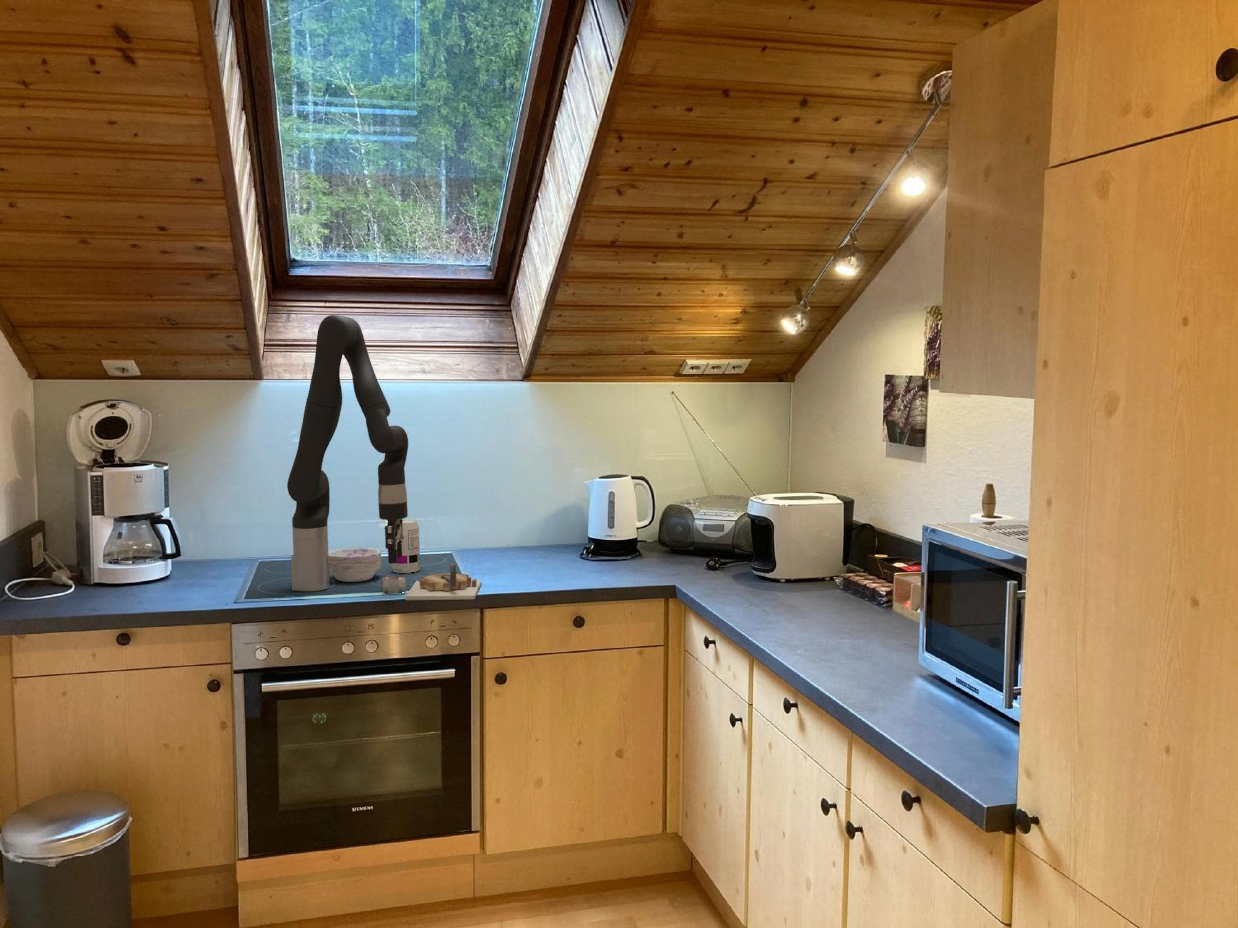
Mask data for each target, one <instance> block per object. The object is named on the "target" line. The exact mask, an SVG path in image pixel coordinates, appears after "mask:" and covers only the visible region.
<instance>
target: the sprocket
mask: <svg viewBox="0 0 1238 928" xmlns="http://www.w3.org/2000/svg"><path fill="white" fill-rule="evenodd" d="M471 580H472V577H471V576H469V574H465V573H463V574H461V573H457V564H450V565H449V573H432V574H430V575H427V576H426V575H423V576H421V577H420V579H419V580H418V581H420V588H426V589H427V590H431V591H433V590H444V591H450V590H453V589H464V588H466V586H471Z"/></svg>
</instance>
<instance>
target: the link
mask: <svg viewBox="0 0 1238 928" xmlns="http://www.w3.org/2000/svg"><path fill="white" fill-rule="evenodd" d="M406 589H407V588H406V577H405V576H397V575H395V576H394V575H393V576H384V577H382V593H383V594H384V593H385V595H388V594H389V595H391V594H392V593H393V594H394V593H401V594H403V593H402V592H405V593H406V591H407V590H406ZM390 593H391V594H390ZM393 594H392V595H393ZM394 595H395V594H394Z"/></svg>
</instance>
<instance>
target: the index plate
mask: <svg viewBox="0 0 1238 928" xmlns="http://www.w3.org/2000/svg"><path fill="white" fill-rule="evenodd" d="M481 586H482V580H481V579H477V578H475V579H474V578H473V579H471V586H466V588H464V589H453V590H450V591H444V590H433V591H431V590H427V589H426V588H420V581H419V580H415V583H413V585H412V587H411V588H410V589H409V591H408V592H407V594H405V597H404V598H405V599H404V600H405V601H431V600H432V601H435V600H436V601H437V600H438V601H439V600H444V601H445V600H446V601H447V600H453V601H454V600H475V599H476V597H477V594H478V593H479V590H480V588H481Z"/></svg>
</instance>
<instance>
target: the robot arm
mask: <svg viewBox="0 0 1238 928" xmlns="http://www.w3.org/2000/svg"><path fill="white" fill-rule="evenodd" d="M361 328H362V327H361V326H360V324H359V322H358V321H356V319H354V318H352V317H350V316H344V315H339V314H330V315H327V316H326V317H324V318H323V319H322V320H321V322H320V324H319V326H318V328H317V334H316V335H317V336H316V341H315V342H316V345H315V356H314V363H313V369H312V373H311V378H310V383H309V388H308V393H307V394H308V395H307V397H306V401H305V406H304V412H303V417H302V422H301V429H300V432H299V433H300V434H299V438H298V445H297V450H296V454H295V457H294V461H293V463H292V467H291V470H290V472H289V476H288V479H287V486H286V488H287V492H288V495H289V497H290V498H291V499H292V500H293V501H294V502H295V503H296V504H295V505H296V507H295V512H294V514H293V516H292V518H291V522H292V523H291V524H292V525H291V527H292V548H293V549H292V553H293V554H292V555H291V556H290V557H291V559H290V561H291V563H290V564H291V567H290V568H291V587H292V588H291V589H292V591H298V592H318V591H323V590H327V589H329V588H330V571H329V556H328V552H329V533H328V532H329V531H328V530H329V529H328V527H329V526H328V519H329V515H330V508H331V507H330V506H331V505H330V504H331V503H330V502H331V501H330V499H331V496H330V489H331V488H330V481H329V477H328V476H327V474H326V473H325V471H324V470H322V467H323V463H324V457H325V454H326V452H327V449H328V447H329V445H330V443H331V441H332V439H333V437H334V435H335V432H336V430H337V427H338V425H339V421H340V416H341V411H342V408H343V407H342V406H343V390H342V384H341V377H340V370H341V364H342V359H343V357H344V358H345V360H346V362H347V364H348V366H349V368H350V369H349V370H350V373H351V379H352V385H353V386H352V387H353V392H354V395H355V398H356V401H357V403H358V406H359V407H360V410H361V412H362V414H363V416H364V418H365V423H366V425H365V426H366V428H367V429H366V430H367V433H368V434H367V435H368V438H369V442H370V444H371V446H372V447H373V448H374V450H376V451H377V452H378V453H380V454H384V457H383V458H384V460H382V462H381V463H379V464H378V467H377V482H378V483H377V484H378V489H377V497H378V498H377V499H378V502H377V503H378V504H377V505H378V518H379V519H381V520H382V521H383V520H385V521H386V520H387V524H386V525H384V539H385V540H384V541H385V543H384V544H385V545H384V546H385V549H386V550H387V557H388V559H387V560H388V564H389V565H390V564H391V565H392V564H393V563H397V558H400V557H402V544H401V543H402V542H403V538H404V537H403V520H405V519H406V518H408V512H409V511H408V510H409V509H408V495H407V493H408V492H407V486H406V472H405V468H406V467H405V466H406V462H407V456H408V451H409V450H408V449H409V438H408V434H407V432H406V430H405V428H403V427H401V426H400V425H390V424H389V421H388V417H389V416H390V414H391V407H390V405H389V403H388V400H387V399H386V395H385V394H384V392H383V389H382V387H381V385H380V382H379V381H378V378H377V376H376V373H375V371H374V367H373V364H372V361H371V359H370V358H371V357H370V356H369V352H368V348H367V345H366V341H365V338H364V333H363V330H362V329H361ZM391 542H393V544H391Z"/></svg>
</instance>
